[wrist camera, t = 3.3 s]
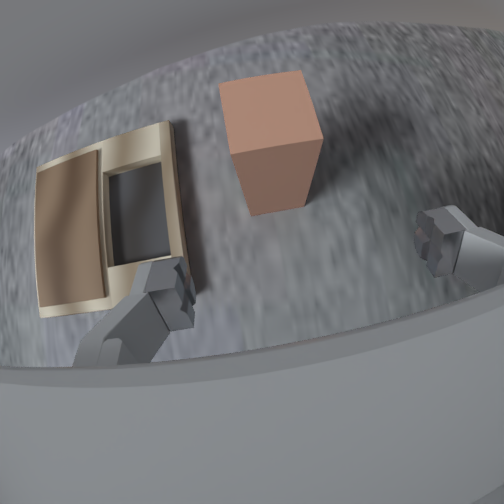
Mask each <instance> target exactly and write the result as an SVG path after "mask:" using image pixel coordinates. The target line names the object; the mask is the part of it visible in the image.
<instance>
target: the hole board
mask: <svg viewBox="0 0 504 504" xmlns="http://www.w3.org/2000/svg"><path fill="white" fill-rule="evenodd" d="M34 250H35V271H36V285H37V295H38V305H39V313H40V318H49V317H57V316H66V315H73V314H81V313H89V312H96V311H104V310H111V309H113V308H114V307H115V306H116V305H117V304H118V303H119V302H120V301H121V300H122V299H123V298H124V297H125V296H129V294H130V291H131V288H132V284H133V281H134V278H135V275H136V272H137V268H138V266H139V264H141V263H144V262H149V261H155V260H160V259H166V258H172V257H177V256H182V257H184V259H185V262H186V264H187V271H186V273H188V274H189V275H191V273H190V266H189V259H188V252H187V245H186V238H185V230H184V223H183V215H182V206H181V198H180V189H179V180H178V171H177V161H176V150H175V139H174V128H173V126H172V124H171V123H170V121H169V120H167V121H164V122H160V123H157V124H153V125H150V126H146V127H143V128H140V129H137V130H133V131H130V132H127V133H124V134H121V135H118V136H115V137H112V138H109V139H106V140H104V141H101V142H98V143H95V144H93V145H90V146H87V147H85V148H82V149H79V150H77V151H74V152H72V153H69V154H67V155H64V156H62V157H60V158H57V159H55V160H52V161H50V162H48V163H46V164H43V165H41V166H39V167H37V172H36V186H35V206H34Z"/></svg>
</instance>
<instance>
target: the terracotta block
mask: <svg viewBox="0 0 504 504" xmlns="http://www.w3.org/2000/svg"><path fill="white" fill-rule="evenodd" d="M219 90H220V95H221V101H222V107H223V113H224V119H225V125H226V131H227V136H228V142H229V148H230V154H231V157H232V160H233V163H234V166H235V169H236V172H237V175H238V178H239V181H240V184H241V187H242V190H243V193H244V197H245V200H246V203H247V206H248V209H249V212H250V215H251V216H255V215H260V214H266V213H271V212H277V211H282V210H288V209H293V208H299V207H304V205H305V202H306V199H307V195H308V192H309V188H310V185H311V182H312V178H313V175H314V171H315V168H316V164H317V161H318V157H319V154H320V150H321V146H322V143H323V139H324V138H323V135H322V132H321V129H320V125H319V122H318V119H317V116H316V113H315V110H314V107H313V104H312V101H311V98H310V95H309V92H308V89H307V86H306V83H305V80H304V77H303V75H302V72H301V70H299V71H291V72H283V73H276V74H269V75H262V76H256V77H250V78H245V79H239V80H234V81H229V82H224V83H219Z"/></svg>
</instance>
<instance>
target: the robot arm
mask: <svg viewBox="0 0 504 504" xmlns="http://www.w3.org/2000/svg"><path fill="white" fill-rule="evenodd" d="M416 223H417V224H418V226H419V227H418V229H417V230H416V232H415V235H414V244H415V249H416V251H417V254H418V255H419V257H420V258H422V259H424V260H426V261H427V263H426V266H427V268H428V269H429V271H430V272H431V273H432V275H433V276H434V278H436V277H440V276H444V275H448V274H452V273H454V275H455V276H457V277H458V278H460V279H461V280H463V281H464V282H466V283H467V284H469V285H470V286H472V287H473V288H475V289H476V290H478V291H479V292H480V293H477V294H474V295H471V296H468V297H465V298H462V299H459V300H456V301H453V302H450V303H447V304H444V305H441V306H437V307H434V308H431V309H428V310H424V311H421V312H417V313H414V314H411V315H407V316H403V317H400V318H396V319H392V320H389V321H385V322H381V323H377V324H373V325H370V326H366V327H361V328H357V329H353V330H349V331H345V332H340V333H336V334H332V335H327V336H322V337H318V338H313V339H308V340H303V341H298V342H293V343H288V344H283V345H277V346H272V347H266V348H260V349H254V350H248V351H241V352H235V353H228V354H221V355H214V356H206V357H198V358H190V359H181V360H172V361H162V362H151V360H152V359H153V357H154V356H155V354H156V353H157V351H158V350H159V348H160V347H161V345H162V344H163V342H164V341H165V340H166V338H167V337H168V335H169V334H170V331H176V330H183V329H188V328H194V318H195V312H194V309H193V307H192V306H193V305H194V304H195V303H196V292H195V286H194V282H193V279H192V276H191V275H189V274H188V273H186V271H187V264H186V262H185V259H184V257H182V256H177V257H172V258H166V259H160V260H155V261H149V262H144V263H141V264H139V266H138V268H137V272H136V275H135V278H134V281H133V284H132V288H131V291H130V294H129V296H125V297H124V298H123V299H122V300H121V301H120V302H119V303H118V304H117V305H116V306H115V307H114V308H113V309H112V310H111V311H110V312H109V313H108V314H107V315H106V316H105V317H104V318H103V319H102V320H101V321H100V322H99V323H98V324H97V325H96V326H95V327H94V328H93V329H92V330H91V331H90V332H89V333H88V334H87V335H86V336H85V337H84V338H83V339H82V340H81V341H80V344H79V347H78V350H77V353H76V356H75V359H74V363H73V366H72V367H10V366H0V504H504V236H501V235H499V234H497V233H494V232H492V231H490V230H487V229H485V228H482V227H477V226H476V225H475V224H474V223H473V222H472V221H471V220H470V219H469V218H468V217H467V216H466V215H465V214H464V213H463V212H462V211H461V210H459V209H458V208H457V207H456V206H455V205H448V206H444V207H440V208H435V209H430V210H425V211H420V212H418V215H417V219H416ZM150 362H151V363H150Z"/></svg>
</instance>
